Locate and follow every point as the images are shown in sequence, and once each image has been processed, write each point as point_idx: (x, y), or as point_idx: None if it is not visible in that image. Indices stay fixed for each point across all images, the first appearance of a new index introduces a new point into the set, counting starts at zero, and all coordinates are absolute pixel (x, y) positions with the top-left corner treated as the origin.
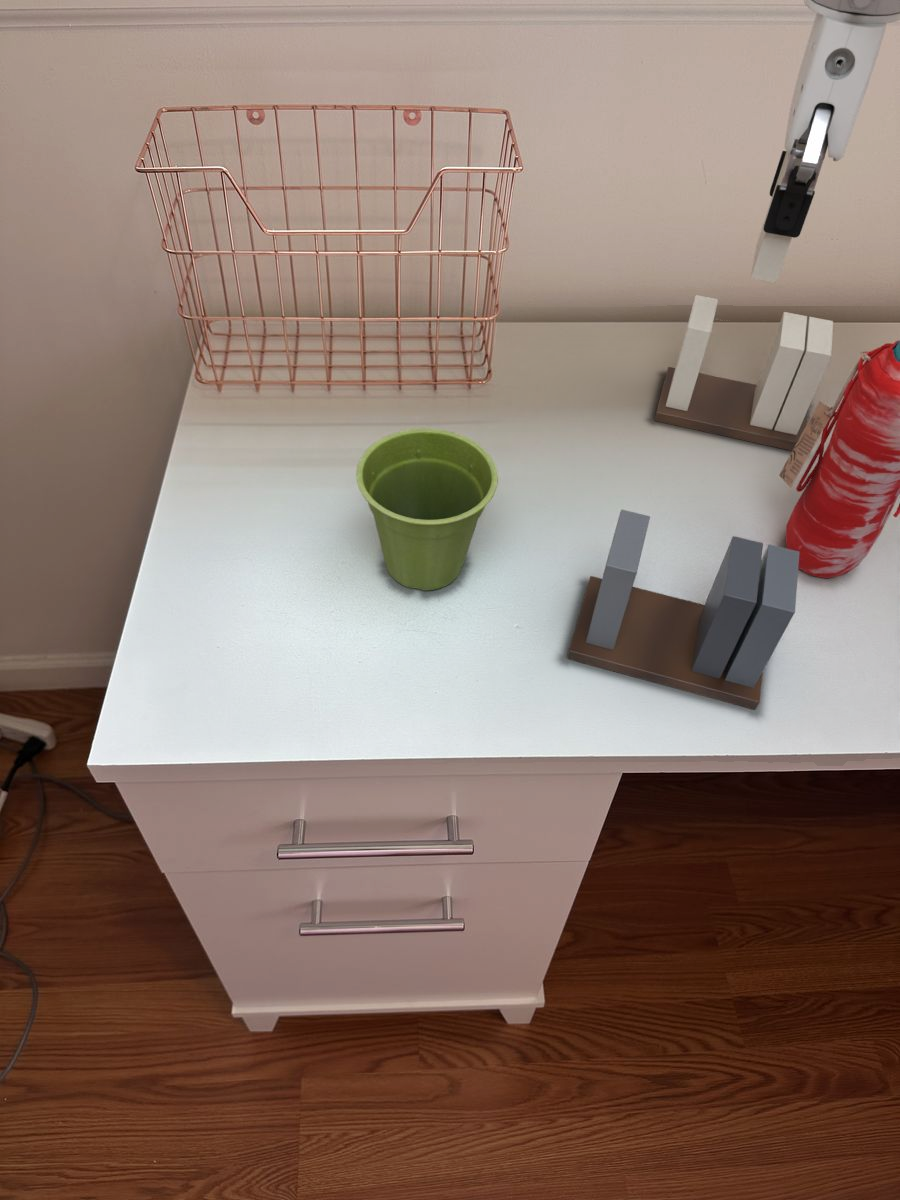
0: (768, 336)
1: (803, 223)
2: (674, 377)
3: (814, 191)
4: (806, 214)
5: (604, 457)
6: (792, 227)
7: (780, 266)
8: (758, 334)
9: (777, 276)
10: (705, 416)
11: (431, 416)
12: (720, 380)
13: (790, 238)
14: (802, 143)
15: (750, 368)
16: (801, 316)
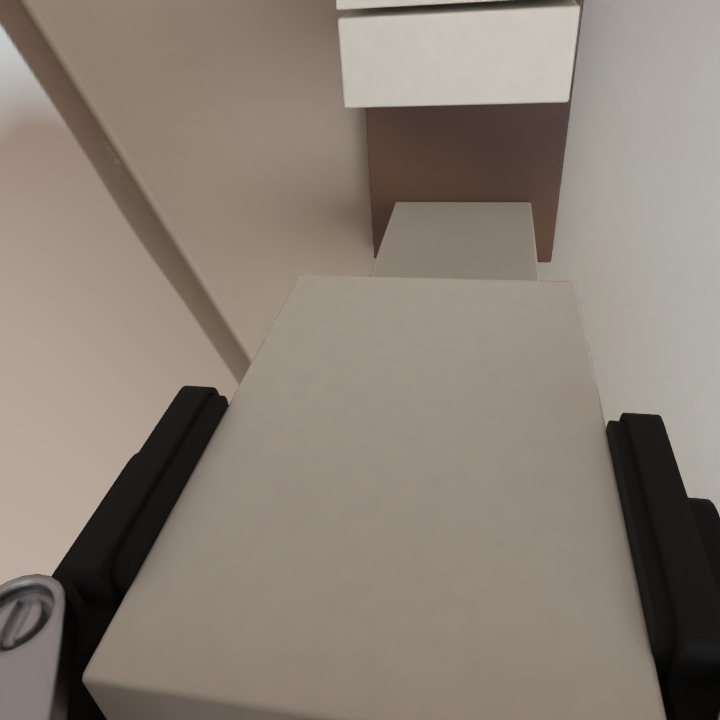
0: (107, 35)
1: (678, 469)
2: None
3: (697, 647)
4: (691, 514)
5: (694, 323)
6: (709, 503)
7: (584, 326)
8: (115, 63)
9: (577, 299)
10: (538, 158)
11: None
12: (380, 141)
13: (602, 412)
14: (78, 706)
15: (265, 64)
16: (351, 42)
